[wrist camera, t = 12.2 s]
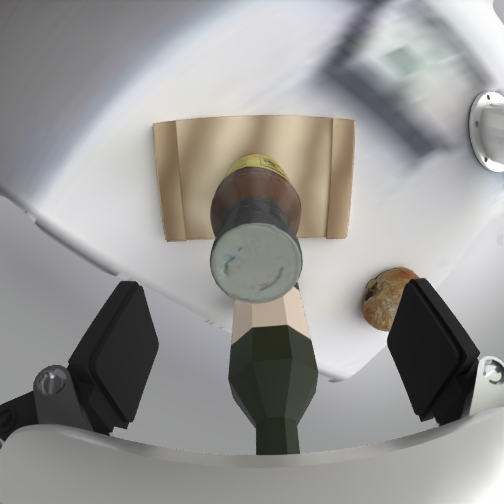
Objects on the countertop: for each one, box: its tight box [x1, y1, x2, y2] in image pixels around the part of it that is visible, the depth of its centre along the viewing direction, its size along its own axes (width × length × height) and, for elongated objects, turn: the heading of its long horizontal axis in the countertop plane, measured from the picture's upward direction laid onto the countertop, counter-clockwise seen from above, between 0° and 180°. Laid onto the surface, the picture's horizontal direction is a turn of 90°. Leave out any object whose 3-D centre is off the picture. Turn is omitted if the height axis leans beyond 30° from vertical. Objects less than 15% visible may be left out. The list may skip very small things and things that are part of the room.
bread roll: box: [362, 268, 419, 331], centre depth 37 cm, size 10×10×8 cm
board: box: [153, 115, 355, 242], centre depth 30 cm, size 22×14×2 cm, turn 91°
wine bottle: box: [228, 282, 318, 455], centre depth 24 cm, size 8×8×30 cm
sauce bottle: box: [210, 154, 302, 304], centre depth 21 cm, size 6×6×20 cm
